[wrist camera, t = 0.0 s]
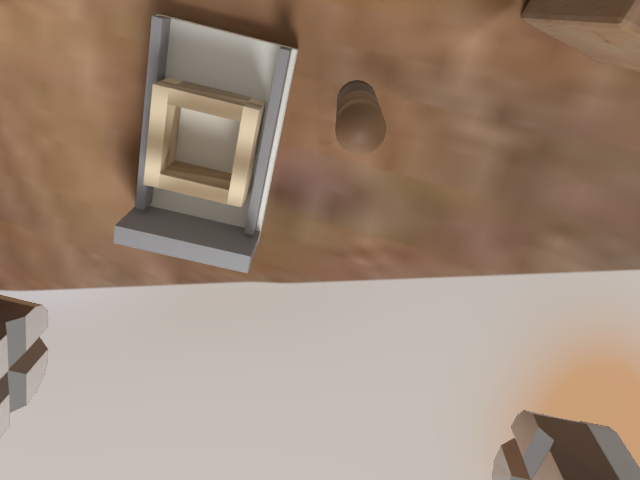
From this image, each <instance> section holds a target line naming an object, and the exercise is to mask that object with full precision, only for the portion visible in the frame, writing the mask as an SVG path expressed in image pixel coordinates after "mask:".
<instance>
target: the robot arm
mask: <svg viewBox="0 0 640 480" xmlns="http://www.w3.org/2000/svg"><path fill="white" fill-rule="evenodd" d="M47 328H48V310H47V309H46V308H45V307H44V306H43V305H40V304H36V303H32V302H28V301H23V300H19V299H15V298H11V297H7V296H2V295H0V438H1V436H2V435H3V434H4V433H5V431H6V430H7V429H8V428H9V426H10V412H13V411H15V410H17V409H19V408H21V407H24V406H26V405H27V404H28V403H29V401H30V400H31V399H32V397H33V396H34V395H35V393H36V392H37V390H38V388H39V386H40V383H41V382H42V379H43V377H44V375H45V371H46V366H47V362H48V348H47V347H46V346H45V344H44V343H43V341H42V340H41V339H40V336H41V334H42V333H43V332H44V331H45V330H46V329H47ZM511 429H512V432H513V435H514V439H512V440H510V441H508V442H506V443H505V444H503V445H501V447H500V449H499V451H498V453H497V455H496V457H495V460H494V466H493V473H492V478H493V480H640V468H639V466H638V465H637V463H636V462H635V460H634V459H633V457H632V456H631V454H630V452H629V451H628V449H627V448H626V446H625V445H624V443H623V442H622V440H621V438H620V437H619V435H618V434H617V433H616V432H615V431H614V430H612V429H611V428H610V427H608V426H603V425H597V424H592V423H587V422H582V421H580V422H577V421H572V420H567V419H563V418H558V417H553V416H549V415H544V414H539V413H535V412H530V411H525V410H523V411H522V412H521V413H520V414H518V415H517V416H516V418H515V420H514V422H513V424H512V426H511Z"/></svg>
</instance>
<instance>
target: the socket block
mask: <svg viewBox="0 0 640 480" xmlns="http://www.w3.org/2000/svg"><path fill="white" fill-rule="evenodd" d="M265 107H266V101H264V100H260V99H256V98H252V97H248V96H244V95H240V94H236V93H232V92H228V91H224V90H220V89H215V88H211V87H207V86H203V85H199V84H195V83H191V82H187V81H183V80H179V79H175V78H171V77H169V78H166V79H164V80H161V81H159V82H156V83H154V84H153V87H152V98H151V108H150V119H149V130H148V141H147V151H146V162H145V173H144V183H143V185H147V186H152V187H156V188H160V189H164V190H169V191H173V192H177V193H181V194H186V195H190V196H194V197H199V198H203V199H207V200H211V201H216V202H220V203H224V204H228V205H233V206H237V207H242V205H243V203H244V201H245V199H246V198H247V196H248V194H249V192H250V187H251V182H252V176H253V171H254V166H255V160H256V155H257V150H258V144H259V139H260V134H261V128H262V123H263V117H264V112H265ZM181 108H185V109H190V110H194V111H198V112H202V113H206V114H210V115H214V116H218V117H222V118H226V119H231V120H235V121H239V122H241V123H240V129H239V135H238V141H237V147H236V153H235V159H234V165H233V170H232V174H230V173H226V172H222V171H218V170H214V169H209V168H205V167H201V166H197V165H192V164H188V163H184V162H180V161H176V160H175V155H176V147H177V138H178V130H179V122H180V113H181Z"/></svg>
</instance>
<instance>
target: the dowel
mask: <svg viewBox="0 0 640 480" xmlns="http://www.w3.org/2000/svg"><path fill="white" fill-rule="evenodd" d="M335 131H336V137H337V140H338V142H339V143H340V145H341V146H342V147H343V148H344V149H345V150H347V151H349V152H351V153H354V154H366V153H369V152H371V151H373V150H375V149H376V148H377V147H378V146H379V145H380V144H381V143H382V141H383V139H384V137H385V133H386V124H385V120H384V117H383V115H382V112H381V109H380V106H379V103H378V101H377V98H376V95H375V92H374V90H373V88H372V87H371V86H370V85H369V84H367V83H366V82H363V81H359V80H355V81H351V82H348V83H347V84H345V85H344V86H343V87H342V88H341V90H340V92H339V94H338V100H337V114H336V128H335Z"/></svg>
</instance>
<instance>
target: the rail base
mask: <svg viewBox="0 0 640 480" xmlns="http://www.w3.org/2000/svg"><path fill="white" fill-rule="evenodd" d="M297 53H298V49H297V48H293V47H289V46H285V45H281V44H277V43H273V42H269V41H265V40H261V39H257V38H253V37H249V36H245V35H241V34H237V33H233V32H229V31H226V30H222V29H218V28H214V27H210V26H206V25H202V24H198V23H194V22H190V21H186V20H182V19H178V18H174V17H170V16H166V15H162V14H156V15H155V16H152V20H151V31H150V43H149V54H148V66H147V77H146V88H145V100H144V111H143V123H142V134H141V145H140V157H139V168H138V180H137V191H136V202H135V207H134V208H133V209H132V210H131V211H130V212H129V213H128V214H127V215H126V216H125V217H123V218H122V219H121V220H120V221H119V222H118V223H117V224H116V225H115V232H114V243H116V244H120V245H125V246H129V247H133V248H138V249H142V250H147V251H151V252H155V253H160V254H164V255H169V256H173V257H178V258H182V259H186V260H191V261H195V262H200V263H204V264H208V265H213V266H217V267H222V268H226V269H230V270H235V271H239V272H244V273H248V270H249V268H250V265H251V262H252V259H253V257H254V254H255V251H256V248H257V246H258V243H259V239H260V234H261V229H262V224H263V220H264V215H265V210H266V205H267V200H268V195H269V190H270V185H271V180H272V176H273V171H274V166H275V161H276V156H277V151H278V146H279V141H280V136H281V131H282V127H283V122H284V117H285V112H286V107H287V102H288V97H289V92H290V87H291V82H292V78H293V73H294V68H295V63H296V58H297ZM169 77H171V78H175V79H179V80H183V81H187V82H191V83H195V84H199V85H203V86H207V87H211V88H215V89H220V90H224V91H228V92H232V93H236V94H240V95H244V96H248V97H252V98H256V99H260V100H264V101H266V107H265V112H264V117H263V123H262V128H261V134H260V139H259V144H258V150H257V155H256V160H255V166H254V171H253V176H252V182H251V187H250V192H249V194H248V196H247V198H246V199H245V201H244V203H243V205H242V207H237V206H233V205H228V204H224V203H220V202H216V201H211V200H207V199H203V198H199V197H194V196H190V195H186V194H181V193H177V192H173V191H169V190H164V189H160V188H156V187H152V186H147V185H143V183H144V173H145V162H146V151H147V141H148V130H149V119H150V108H151V98H152V87H153V84H154V83H156V82H159V81H161V80H164V79H166V78H169ZM240 123H241V122H239V121H235V120H231V119H226V118H222V117H218V116H214V115H210V114H206V113H202V112H198V111H194V110H190V109H185V108H181V113H180V122H179V130H178V138H177V147H176V155H175V160H176V161H180V162H184V163H188V164H192V165H197V166H201V167H205V168H209V169H214V170H218V171H222V172H226V173H230V174H232V170H233V165H234V159H235V153H236V147H237V141H238V135H239V129H240Z"/></svg>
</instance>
